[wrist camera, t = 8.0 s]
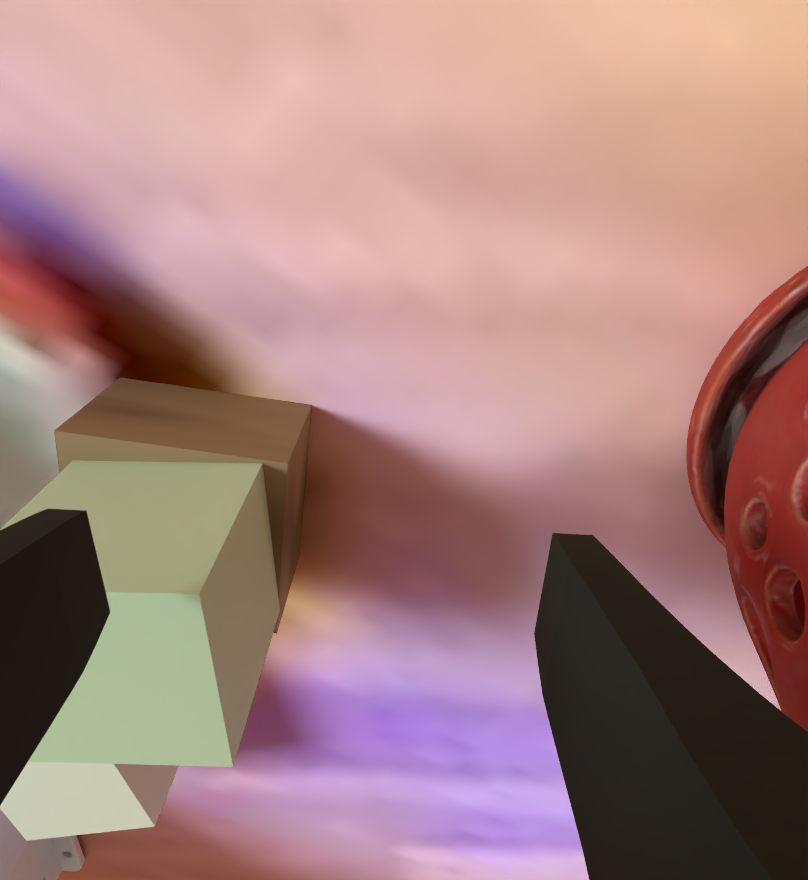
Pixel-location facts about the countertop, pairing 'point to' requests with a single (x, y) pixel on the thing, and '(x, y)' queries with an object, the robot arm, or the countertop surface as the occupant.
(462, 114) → the countertop surface
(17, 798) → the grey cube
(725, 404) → the plant pot
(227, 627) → the sage cube
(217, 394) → the walnut block
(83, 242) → the countertop surface
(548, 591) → the robot arm
